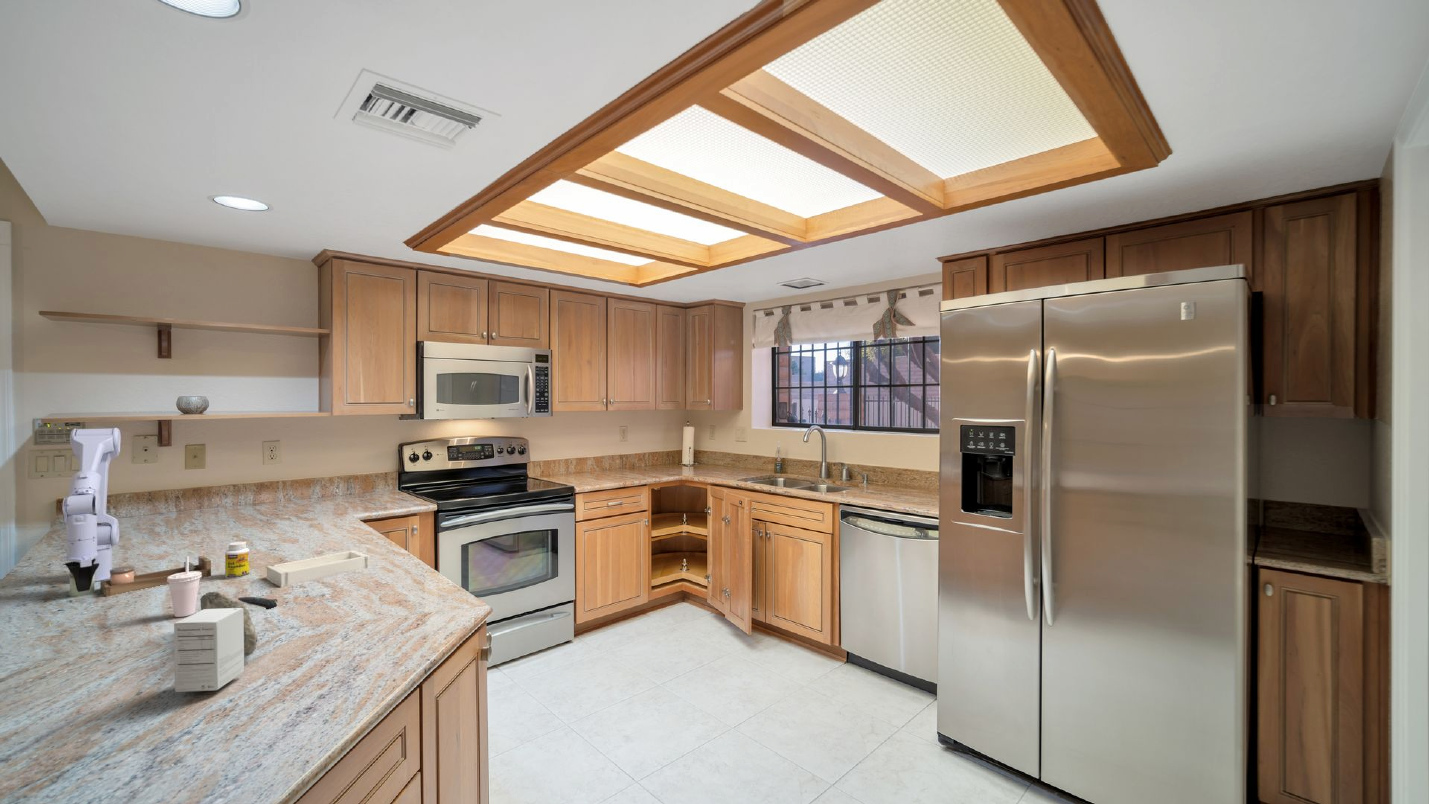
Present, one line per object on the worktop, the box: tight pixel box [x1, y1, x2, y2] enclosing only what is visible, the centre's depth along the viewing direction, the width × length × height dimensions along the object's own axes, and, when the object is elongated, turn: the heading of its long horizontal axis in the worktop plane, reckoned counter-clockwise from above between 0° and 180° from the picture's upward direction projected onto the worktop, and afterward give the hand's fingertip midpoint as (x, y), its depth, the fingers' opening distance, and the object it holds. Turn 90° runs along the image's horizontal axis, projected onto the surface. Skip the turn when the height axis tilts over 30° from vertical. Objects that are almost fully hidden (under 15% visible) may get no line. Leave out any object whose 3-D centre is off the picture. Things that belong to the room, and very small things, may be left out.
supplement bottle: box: [224, 541, 250, 580], centre depth 175 cm, size 6×6×10 cm
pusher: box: [183, 561, 196, 572], centre depth 175 cm, size 6×2×4 cm, turn 53°
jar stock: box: [109, 565, 135, 586], centre depth 163 cm, size 5×5×6 cm
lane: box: [99, 555, 212, 598], centre depth 169 cm, size 9×22×5 cm, turn 143°
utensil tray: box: [266, 549, 371, 588], centre depth 178 cm, size 12×23×4 cm, turn 143°
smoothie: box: [167, 555, 202, 618], centre depth 145 cm, size 6×6×14 cm
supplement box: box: [173, 608, 245, 693], centre depth 110 cm, size 7×7×13 cm
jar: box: [68, 573, 96, 598], centre depth 160 cm, size 5×5×6 cm
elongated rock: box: [199, 591, 259, 657], centre depth 127 cm, size 35×5×10 cm, turn 54°
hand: (82, 589), depth 160 cm, fingers closed on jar, 5 cm apart
